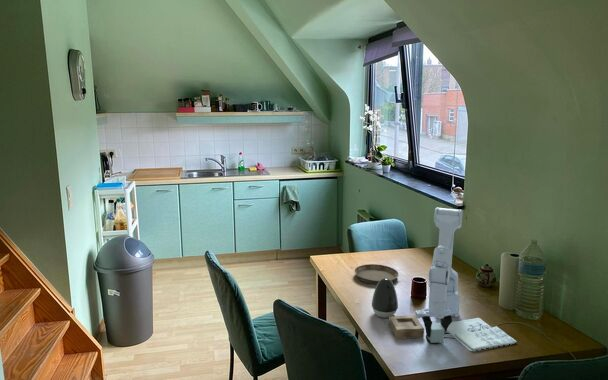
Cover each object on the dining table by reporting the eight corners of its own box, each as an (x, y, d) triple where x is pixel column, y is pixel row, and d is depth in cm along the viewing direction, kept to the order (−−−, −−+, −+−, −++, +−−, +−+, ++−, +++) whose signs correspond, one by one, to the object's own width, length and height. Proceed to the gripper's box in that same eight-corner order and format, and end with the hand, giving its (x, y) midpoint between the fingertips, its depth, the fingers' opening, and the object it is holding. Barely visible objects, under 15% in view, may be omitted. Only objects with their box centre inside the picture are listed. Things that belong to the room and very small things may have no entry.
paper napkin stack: (470, 354, 155) (471, 348, 154) (437, 325, 174) (438, 320, 173) (517, 345, 160) (518, 340, 159) (480, 318, 179) (480, 313, 178)
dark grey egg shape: (378, 322, 174) (379, 285, 171) (367, 310, 184) (368, 275, 181) (402, 319, 177) (404, 282, 174) (390, 307, 187) (391, 272, 184)
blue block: (438, 335, 164) (439, 322, 163) (443, 342, 159) (444, 329, 158) (426, 336, 163) (427, 323, 162) (431, 342, 159) (431, 329, 158)
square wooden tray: (414, 323, 174) (415, 315, 173) (423, 337, 164) (424, 328, 163) (389, 324, 173) (389, 316, 172) (396, 338, 163) (396, 329, 162)
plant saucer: (396, 270, 226) (396, 264, 226) (400, 288, 206) (400, 281, 206) (354, 269, 228) (354, 263, 228) (354, 286, 208) (354, 279, 208)
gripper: (421, 305, 154) (418, 342, 156) (462, 303, 155) (459, 340, 158) (414, 296, 160) (412, 331, 163) (454, 294, 162) (451, 329, 164)
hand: (435, 335), depth 161 cm, fingers closed on blue block, 4 cm apart
